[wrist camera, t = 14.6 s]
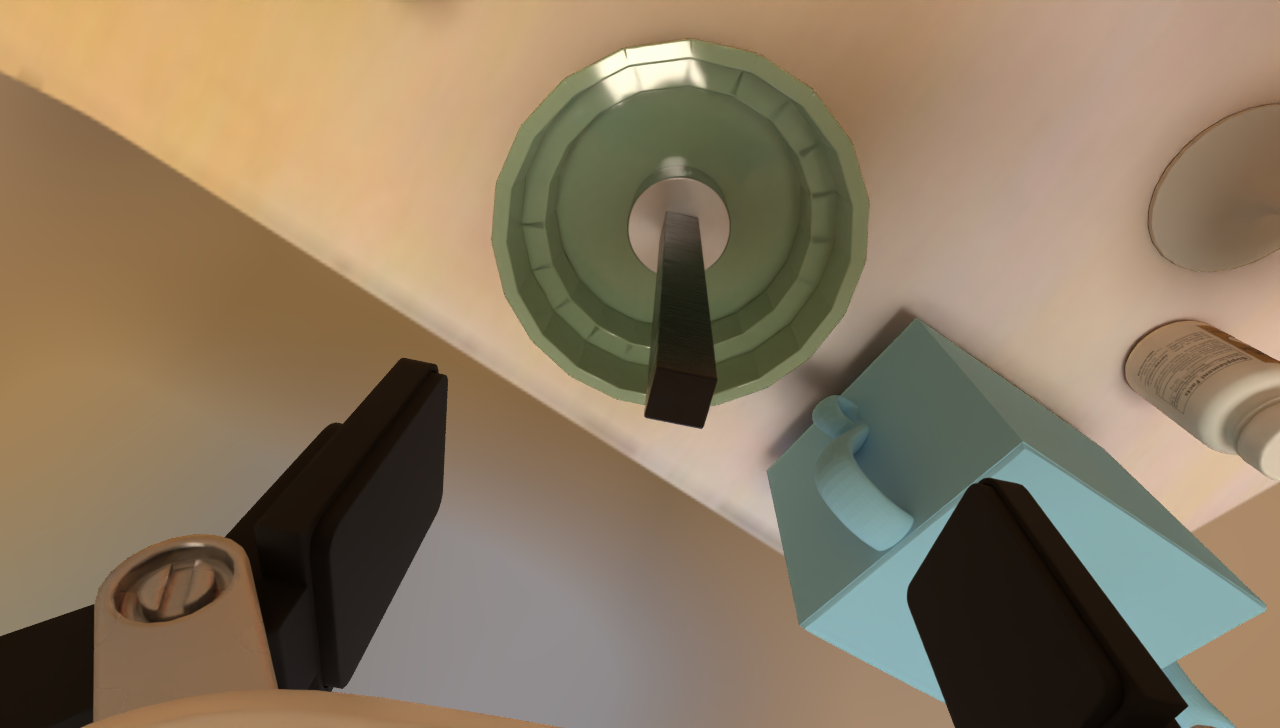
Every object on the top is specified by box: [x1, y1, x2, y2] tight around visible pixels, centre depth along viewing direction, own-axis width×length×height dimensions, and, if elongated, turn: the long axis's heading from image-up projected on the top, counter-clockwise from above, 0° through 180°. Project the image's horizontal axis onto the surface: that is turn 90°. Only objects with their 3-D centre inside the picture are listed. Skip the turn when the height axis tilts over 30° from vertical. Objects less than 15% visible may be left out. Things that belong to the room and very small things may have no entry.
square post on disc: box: [627, 166, 731, 429], centre depth 21 cm, size 4×4×16 cm
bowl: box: [491, 38, 869, 406], centre depth 26 cm, size 14×14×6 cm
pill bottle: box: [1125, 321, 1280, 481], centre depth 27 cm, size 4×4×8 cm
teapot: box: [767, 318, 1266, 728], centre depth 28 cm, size 22×11×14 cm, turn 57°
